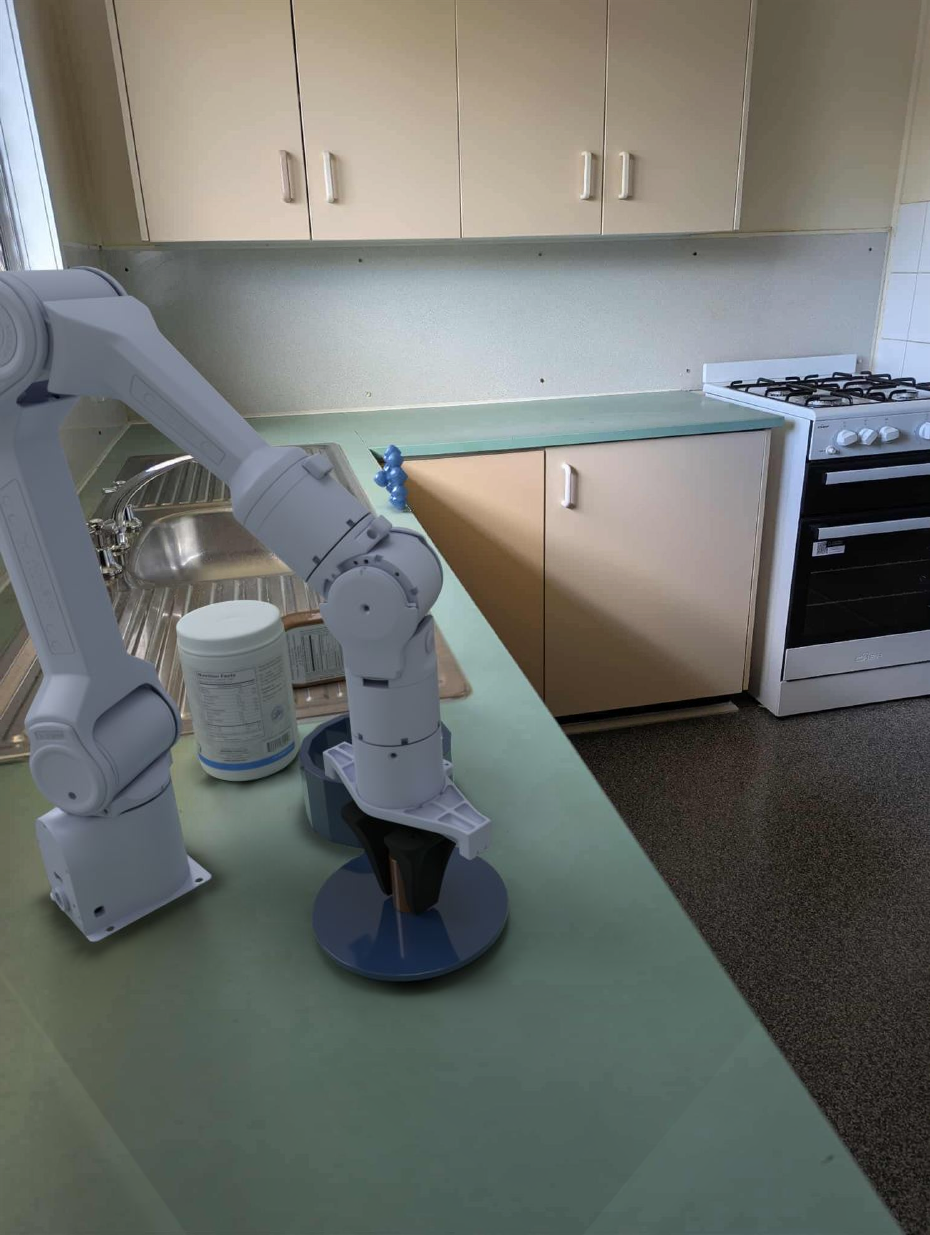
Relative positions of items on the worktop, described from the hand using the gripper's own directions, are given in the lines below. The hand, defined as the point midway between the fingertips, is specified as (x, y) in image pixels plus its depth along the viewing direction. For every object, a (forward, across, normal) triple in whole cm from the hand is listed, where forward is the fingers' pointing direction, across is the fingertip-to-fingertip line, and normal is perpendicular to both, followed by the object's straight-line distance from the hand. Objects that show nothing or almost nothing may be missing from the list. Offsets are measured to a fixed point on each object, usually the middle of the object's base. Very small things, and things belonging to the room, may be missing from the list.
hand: (410, 897), depth 61 cm
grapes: (+3, +90, -75) cm, 117 cm away
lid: (+1, 0, 0) cm, 1 cm away
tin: (+3, +37, -21) cm, 43 cm away
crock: (+3, +13, -8) cm, 15 cm away
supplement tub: (+3, +29, -5) cm, 29 cm away
